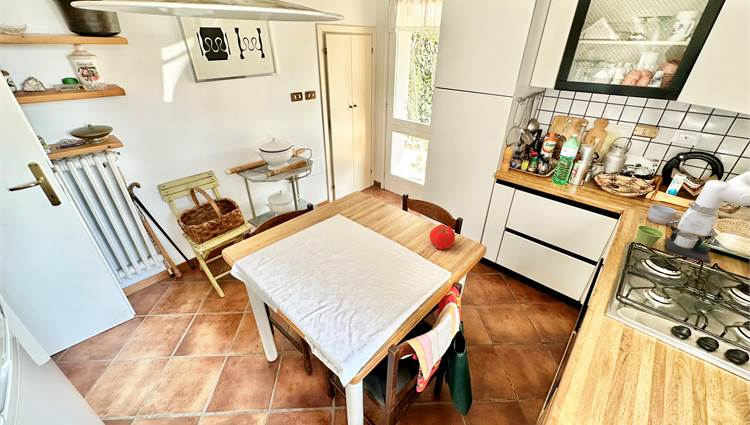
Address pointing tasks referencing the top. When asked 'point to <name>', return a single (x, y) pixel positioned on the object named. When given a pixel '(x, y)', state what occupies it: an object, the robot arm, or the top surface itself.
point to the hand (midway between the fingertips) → (683, 242)
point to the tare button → (703, 245)
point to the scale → (688, 251)
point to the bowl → (685, 240)
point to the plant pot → (648, 235)
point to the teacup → (661, 214)
